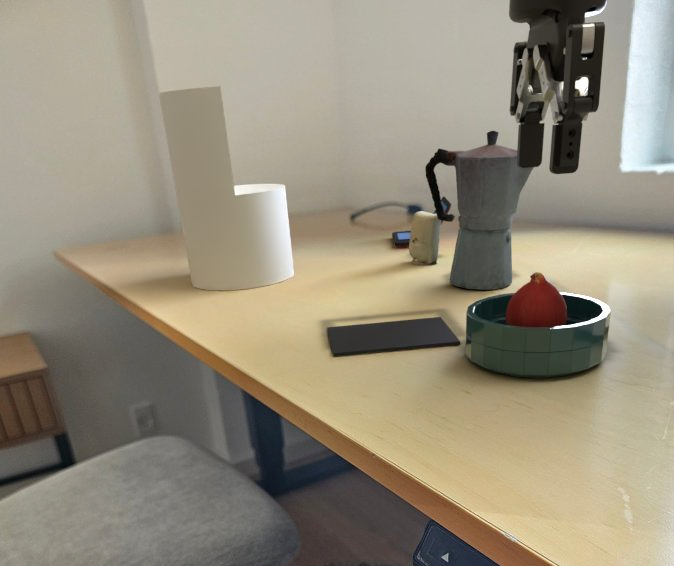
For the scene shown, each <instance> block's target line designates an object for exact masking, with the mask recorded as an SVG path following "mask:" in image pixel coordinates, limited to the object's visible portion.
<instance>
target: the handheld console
mask: <svg viewBox="0 0 674 566" xmlns="http://www.w3.org/2000/svg"><path fill="white" fill-rule="evenodd" d="M440 202H441V204H442V206H443V209H444V212H445V213H446V214H449V212H450V210H451V209H452V203H451V202H450V201H449V199H447V197H446V196H442V197H441V201H440ZM432 214H437V213H436V209H434V211H433V213H432ZM443 223H444V221H443V220H441V226H442V224H443ZM410 233H411V230H404V231H403V230H402V231H401V230H400V231H394V232H392V233H391V237H392V241H393V245H394V247H395V248H399V249H402V248H403V249H404V248H409V243H410Z"/></svg>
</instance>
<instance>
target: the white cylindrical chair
mask: <svg viewBox="0 0 674 566" xmlns="http://www.w3.org/2000/svg"><path fill="white" fill-rule="evenodd" d="M158 97H159V103H160V108H161V114H162V115H161V116H162V120H163V126H164V131H165V138H166V144H167V148H168V155H169V160H170V167H171V171H172V177H173V178H172V179H173V183H174V189H175V194H176V200H177V207H178V211H179V218H180V224H181V229H182V235H183V242H184V247H185V252H186V258H187V265H188V270H189V276H190V281H191V285H192V286H193V287H194V288H197V289H199V290H206V291H239V290H249V289H256V288H263V287H266V286H271V285H275V284H279V283H282V282H284V281H287V280H289V279H291V278H292V277H293V276H295V270H294V259H293V250H292V240H291V230H290V220H289V210H288V201H287V191H286V190H287V189H286V184H282V183H250V184H236V185H235V184H234V176H233V169H232V162H231V161H232V160H231V154H230V146H229V140H228V132H227V123H226V117H225V110H224V104H223V96H222V88H221V85H219V86H217V85H216V86H206V87H194V88H184V89H176V90H169V91H162V92H158Z"/></svg>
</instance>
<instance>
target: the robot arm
mask: <svg viewBox="0 0 674 566" xmlns="http://www.w3.org/2000/svg"><path fill="white" fill-rule="evenodd" d="M508 3H509V7H508V17H509V19H510V20H511V22H513V23H517V24H525V23H527V24H528V26H529V31H528V36H527V40H526V41H518V42H515V43H514V46H513V55H512V56H513V57H512V59H513V60H512V71H511V72H512V73H511V74H512V75H511V86H510V87H511V89H510V103H509V105H510V106H509V114H510V116H511V117H514V118H515V122H516V124H518V130H517V131H518V132H517V149H516V150H517V165H518V167H521V168H530V167H534V168H539V166H541V165H542V163H543V151H544V139H545V138H544V137H545V122H544V121H545V118H546V116H547V112H548V110H549V106H550V110H551V117H552V122H553V124H552V126H551V127H552V128H551V141H550V154H549V166H548V167H549V168H548V169H549V172H550V173H551V174H555V175H566V174H567V175H568V174H573V173H575V172H577V171H578V169H579V164H580V154H581V153H580V152H581V143H582V132H583V123H585V122H586V121H588V116H589V114H591V113H596V112H597V111H598V110H599V106H600V98H601V97H600V95H601V86H602V85H601V84H602V70H603V60H604V59H603V58H604V47H605V35H606V34H605V32H606V24H605V22H604V21H596V22H586V18H588V17H592V16H595V15H598V14H600V13H602V12H603V11H604V9H605V8H606V6H607V0H509V2H508ZM586 93H587V95H586Z"/></svg>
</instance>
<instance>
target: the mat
mask: <svg viewBox="0 0 674 566" xmlns="http://www.w3.org/2000/svg"><path fill="white" fill-rule="evenodd" d="M326 330H327V334H328V340H329V343H330V348H331V352H332V357H334V358H335V357H344V356H346V357H347V356H356V355H365V354H367V355H368V354H376V353H387V352H399V351H406V350H407V351H408V350H417V349H429V348H439V347H440V348H441V347H451V346H459V345H461V340H460V339H459V338H458V336H457V335H456V334H455V333H454V331H453V330H452V329H451V327H450V326H449V325H448V324H447V323H446V321H445V320H444V319H443V318H442V316H435V317H434V316H433V317H425V318H412V319H402V320H392V321H390V320H389V321H380V322H371V323H359V324H349V325H338V326H330V327H326Z"/></svg>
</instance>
